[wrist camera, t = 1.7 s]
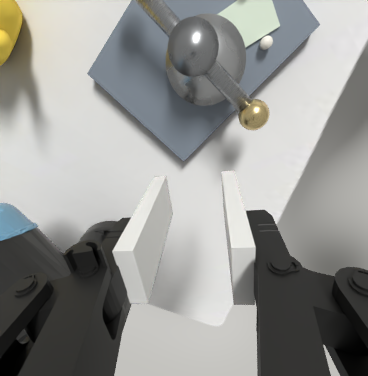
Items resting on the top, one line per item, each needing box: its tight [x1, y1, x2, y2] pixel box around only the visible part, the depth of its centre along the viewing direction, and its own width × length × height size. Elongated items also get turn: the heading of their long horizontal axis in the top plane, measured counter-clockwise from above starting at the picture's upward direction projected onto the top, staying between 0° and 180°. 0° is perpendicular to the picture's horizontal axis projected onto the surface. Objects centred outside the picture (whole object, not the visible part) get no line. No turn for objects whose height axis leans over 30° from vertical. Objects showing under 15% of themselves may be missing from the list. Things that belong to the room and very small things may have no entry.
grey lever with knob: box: [134, 0, 269, 130], centre depth 23 cm, size 21×9×6 cm, turn 47°
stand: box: [87, 0, 320, 162], centre depth 26 cm, size 22×17×3 cm
